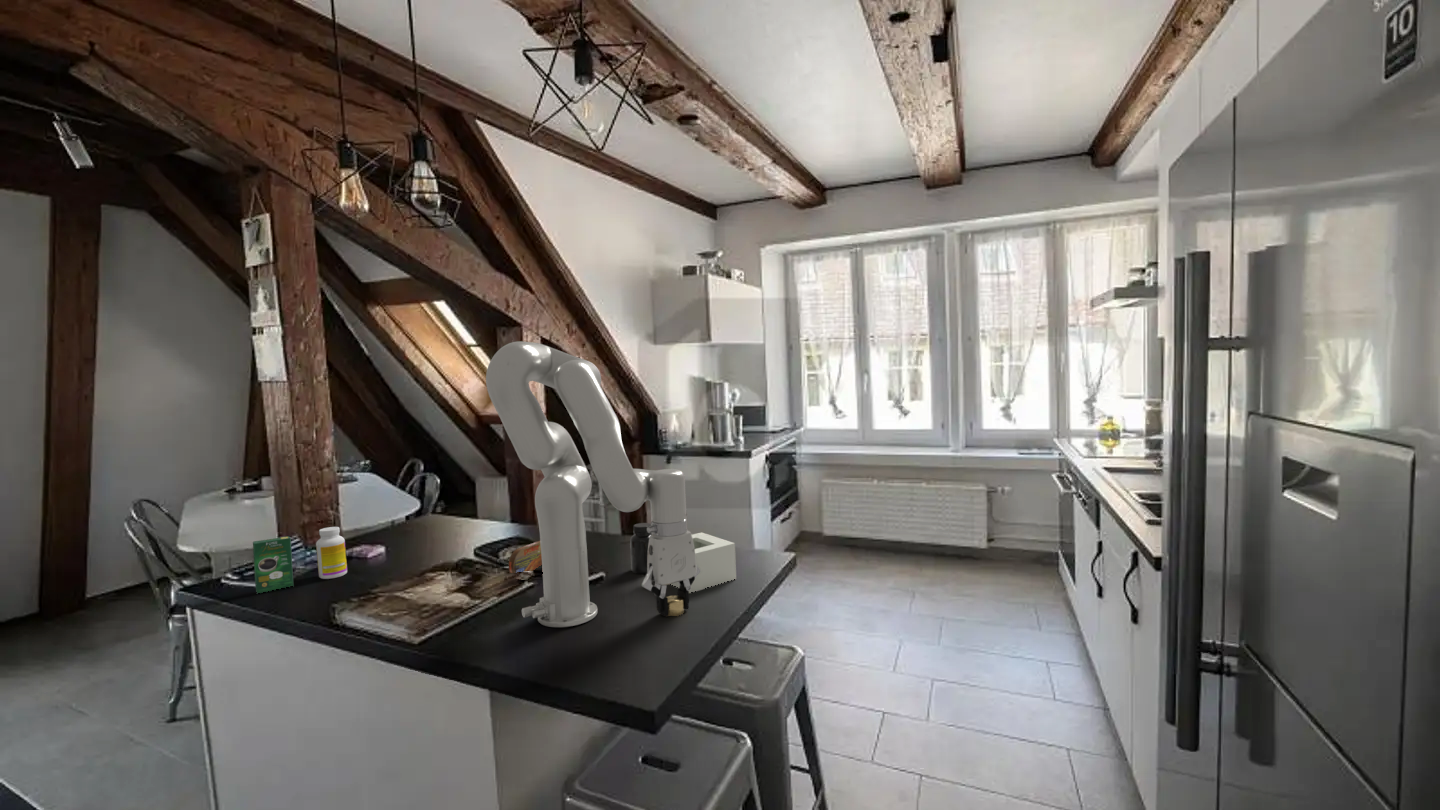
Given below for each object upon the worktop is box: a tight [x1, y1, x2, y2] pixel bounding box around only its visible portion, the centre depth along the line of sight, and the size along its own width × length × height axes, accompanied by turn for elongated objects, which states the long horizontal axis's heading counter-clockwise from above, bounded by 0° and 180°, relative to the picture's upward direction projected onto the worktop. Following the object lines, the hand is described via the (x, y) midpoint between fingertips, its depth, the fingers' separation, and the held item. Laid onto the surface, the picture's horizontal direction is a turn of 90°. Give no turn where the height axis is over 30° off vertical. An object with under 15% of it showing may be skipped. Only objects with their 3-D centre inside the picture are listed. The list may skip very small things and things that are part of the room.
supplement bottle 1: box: [315, 526, 348, 580], centre depth 174 cm, size 7×7×13 cm
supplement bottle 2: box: [629, 522, 652, 575], centre depth 168 cm, size 7×7×12 cm
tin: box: [508, 540, 542, 574], centre depth 168 cm, size 15×3×8 cm, turn 148°
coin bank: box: [671, 531, 737, 594], centre depth 160 cm, size 14×14×9 cm
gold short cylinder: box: [666, 595, 685, 617], centre depth 139 cm, size 5×5×3 cm
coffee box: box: [252, 535, 295, 595], centre depth 164 cm, size 8×3×13 cm, turn 129°
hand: (673, 609), depth 139 cm, fingers closed on gold short cylinder, 4 cm apart
